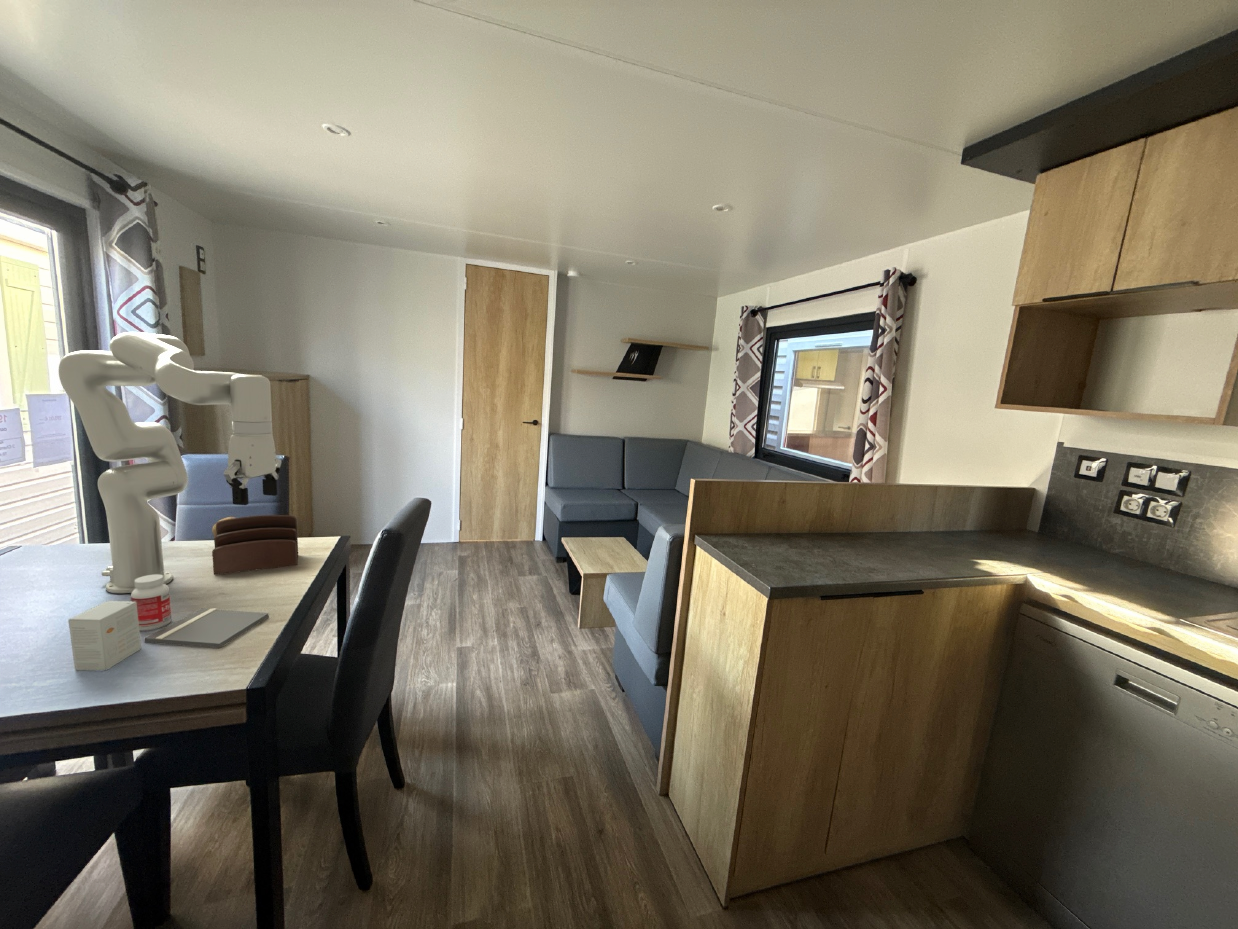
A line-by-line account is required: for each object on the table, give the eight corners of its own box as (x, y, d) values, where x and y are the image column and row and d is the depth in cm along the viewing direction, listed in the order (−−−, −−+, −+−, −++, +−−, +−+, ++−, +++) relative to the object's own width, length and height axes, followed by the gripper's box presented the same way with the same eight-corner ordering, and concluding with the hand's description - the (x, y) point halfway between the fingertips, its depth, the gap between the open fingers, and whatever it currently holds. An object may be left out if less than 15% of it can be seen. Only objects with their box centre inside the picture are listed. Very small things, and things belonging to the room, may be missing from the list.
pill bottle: (169, 628, 109) (164, 580, 108) (130, 634, 106) (126, 585, 104) (174, 616, 114) (170, 571, 113) (138, 621, 111) (133, 575, 109)
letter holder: (218, 563, 146) (215, 517, 144) (298, 555, 156) (296, 512, 154) (213, 575, 137) (209, 527, 135) (297, 566, 148) (296, 520, 146)
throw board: (144, 642, 103) (144, 637, 103) (202, 612, 117) (201, 607, 117) (219, 648, 103) (219, 642, 103) (268, 617, 117) (268, 612, 117)
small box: (112, 648, 100) (107, 600, 99) (142, 649, 101) (137, 600, 99) (73, 671, 93) (66, 619, 91) (105, 671, 93) (99, 619, 91)
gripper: (262, 424, 124) (265, 490, 126) (206, 430, 107) (210, 507, 109) (292, 426, 124) (295, 492, 127) (240, 433, 107) (245, 509, 110)
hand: (256, 499), depth 118 cm, fingers open, 9 cm apart
